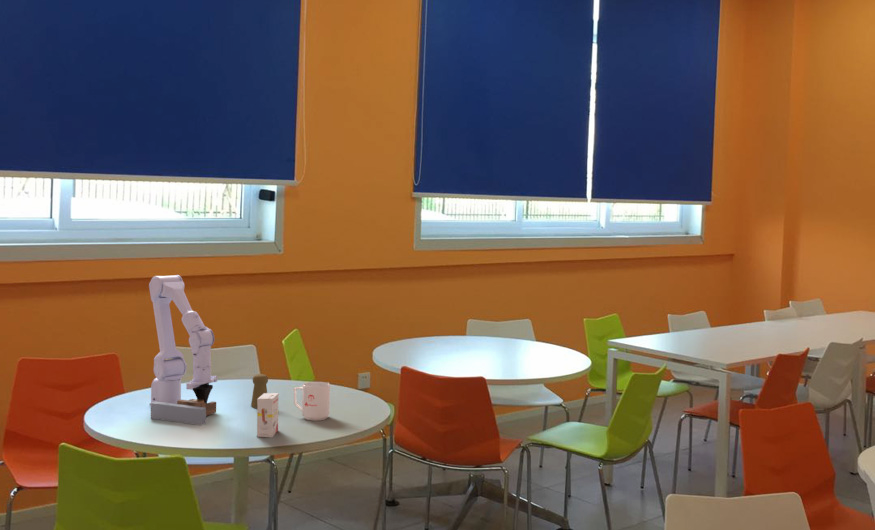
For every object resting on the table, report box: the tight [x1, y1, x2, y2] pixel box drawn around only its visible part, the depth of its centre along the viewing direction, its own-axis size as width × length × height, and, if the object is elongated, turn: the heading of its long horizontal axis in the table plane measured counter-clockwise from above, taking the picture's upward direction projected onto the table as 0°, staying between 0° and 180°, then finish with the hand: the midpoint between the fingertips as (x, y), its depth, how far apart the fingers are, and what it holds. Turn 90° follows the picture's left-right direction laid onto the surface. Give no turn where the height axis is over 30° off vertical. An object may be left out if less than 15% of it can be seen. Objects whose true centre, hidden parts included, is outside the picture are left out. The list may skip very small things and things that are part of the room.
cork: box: [250, 373, 269, 409], centre depth 308 cm, size 6×6×11 cm
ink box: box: [256, 392, 279, 438], centre depth 273 cm, size 9×5×12 cm, turn 177°
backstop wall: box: [150, 401, 207, 426], centre depth 285 cm, size 19×2×5 cm, turn 70°
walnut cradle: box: [177, 398, 217, 417], centre depth 294 cm, size 10×8×4 cm
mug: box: [293, 381, 331, 422], centre depth 294 cm, size 12×9×11 cm
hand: (202, 407), depth 296 cm, fingers closed, pressing on oak dowel
